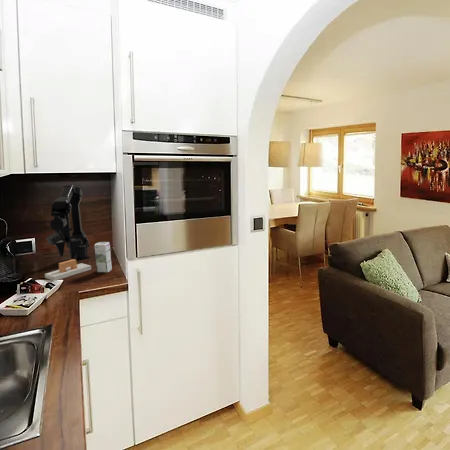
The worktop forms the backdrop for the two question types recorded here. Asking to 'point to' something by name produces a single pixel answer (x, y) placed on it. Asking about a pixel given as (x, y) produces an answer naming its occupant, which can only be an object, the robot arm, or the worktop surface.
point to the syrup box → (103, 256)
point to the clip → (67, 265)
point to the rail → (67, 272)
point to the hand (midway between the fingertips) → (67, 257)
